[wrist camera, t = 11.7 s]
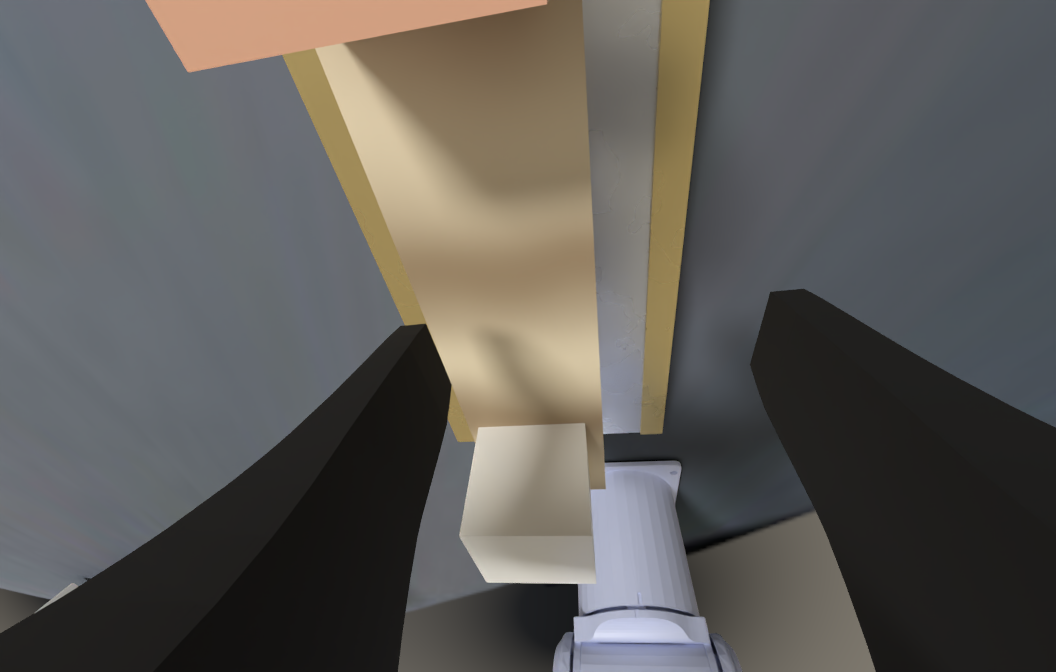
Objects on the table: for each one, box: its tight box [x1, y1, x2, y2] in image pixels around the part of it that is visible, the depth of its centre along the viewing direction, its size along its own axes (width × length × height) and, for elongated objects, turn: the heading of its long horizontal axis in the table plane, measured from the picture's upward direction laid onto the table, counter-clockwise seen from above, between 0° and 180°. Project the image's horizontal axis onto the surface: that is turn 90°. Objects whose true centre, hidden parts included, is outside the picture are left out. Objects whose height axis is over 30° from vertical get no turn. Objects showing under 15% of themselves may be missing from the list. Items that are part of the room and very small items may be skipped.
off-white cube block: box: [459, 423, 596, 584], centre depth 15 cm, size 4×4×4 cm
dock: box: [283, 0, 710, 442], centre depth 16 cm, size 28×12×2 cm, turn 9°
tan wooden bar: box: [315, 0, 606, 490], centre depth 13 cm, size 22×5×5 cm, turn 9°
